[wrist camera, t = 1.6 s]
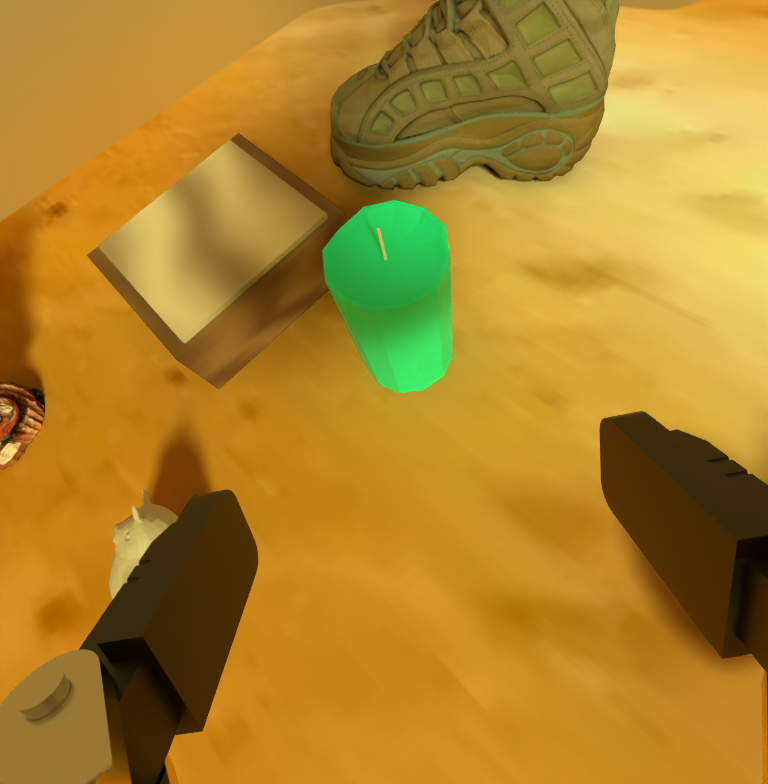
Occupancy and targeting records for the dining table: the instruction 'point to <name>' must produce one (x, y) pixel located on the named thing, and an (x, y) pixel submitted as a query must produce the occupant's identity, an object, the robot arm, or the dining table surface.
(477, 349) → the dining table surface
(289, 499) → the dining table surface
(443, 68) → the sneaker
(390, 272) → the candle
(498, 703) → the dining table surface
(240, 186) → the wooden square box
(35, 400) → the figurine
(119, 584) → the figurine
